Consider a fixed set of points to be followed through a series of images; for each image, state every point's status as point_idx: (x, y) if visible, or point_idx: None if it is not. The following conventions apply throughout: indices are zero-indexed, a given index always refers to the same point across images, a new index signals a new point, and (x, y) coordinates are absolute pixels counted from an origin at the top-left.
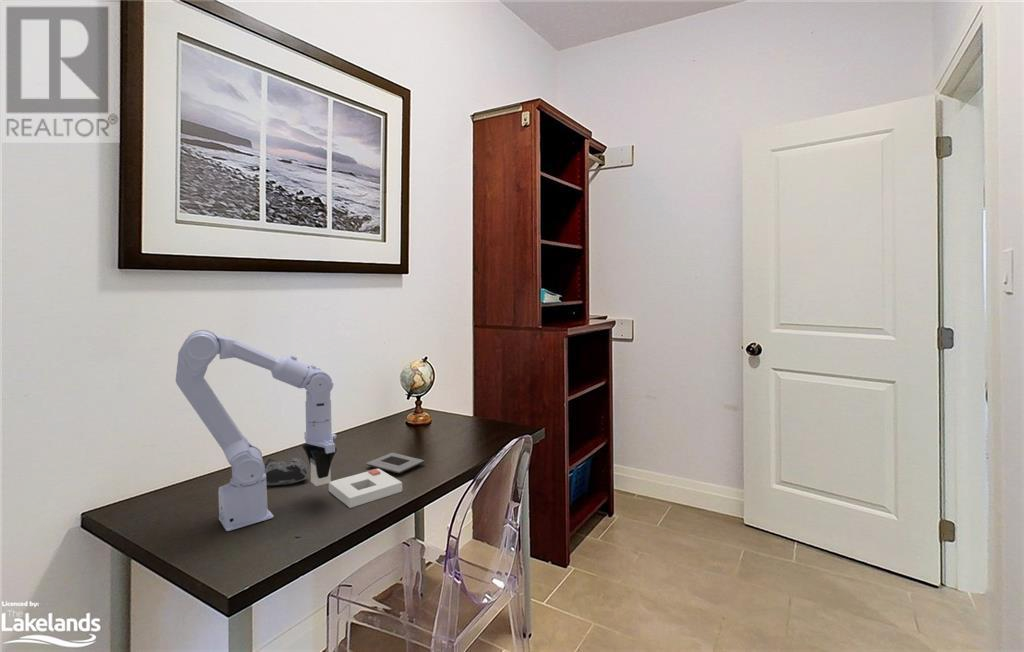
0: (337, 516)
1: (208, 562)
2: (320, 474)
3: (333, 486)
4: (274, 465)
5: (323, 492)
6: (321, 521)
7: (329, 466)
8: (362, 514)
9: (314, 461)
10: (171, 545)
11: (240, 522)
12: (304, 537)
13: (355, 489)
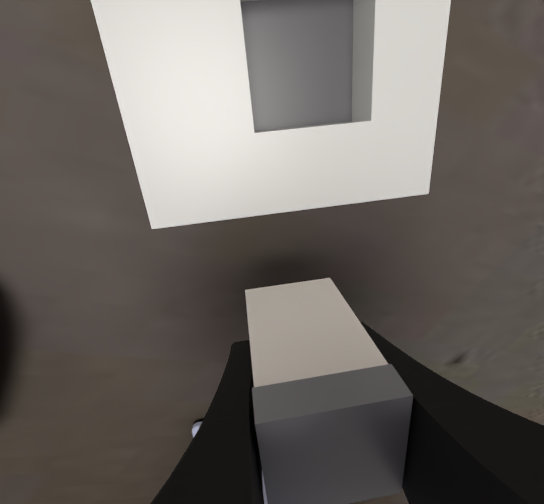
0: (429, 244)
1: None
2: None
3: (225, 218)
4: None
5: (166, 237)
6: (422, 295)
7: (412, 361)
8: (489, 159)
9: (373, 492)
10: None
11: None
12: (473, 347)
13: (351, 130)
